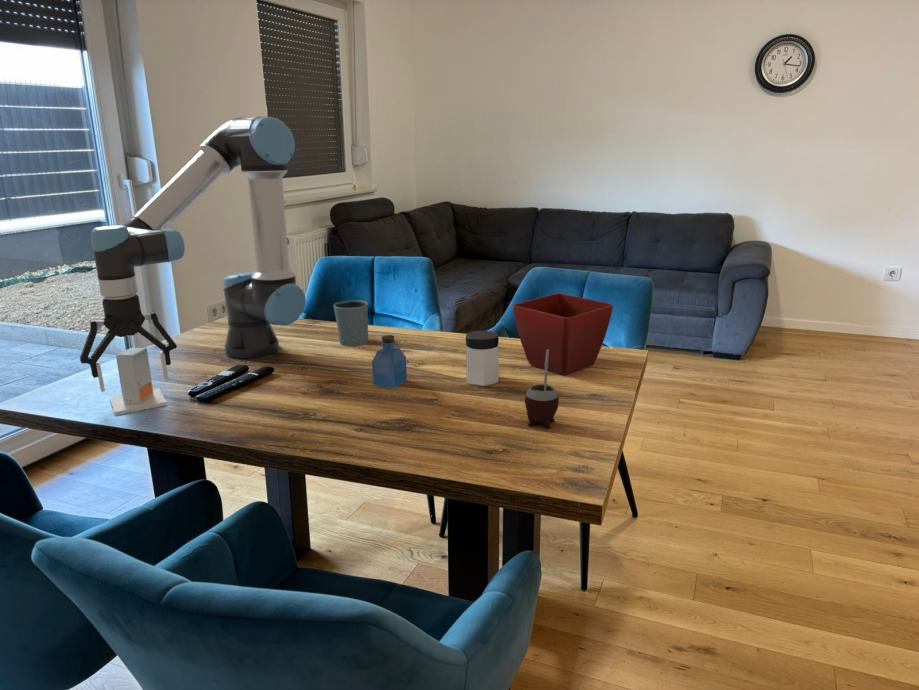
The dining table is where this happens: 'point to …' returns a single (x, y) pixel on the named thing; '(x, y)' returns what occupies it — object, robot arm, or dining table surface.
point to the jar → (482, 358)
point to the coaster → (149, 403)
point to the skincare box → (134, 375)
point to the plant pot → (562, 331)
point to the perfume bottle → (389, 364)
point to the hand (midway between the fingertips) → (135, 384)
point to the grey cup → (352, 322)
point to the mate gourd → (541, 402)
